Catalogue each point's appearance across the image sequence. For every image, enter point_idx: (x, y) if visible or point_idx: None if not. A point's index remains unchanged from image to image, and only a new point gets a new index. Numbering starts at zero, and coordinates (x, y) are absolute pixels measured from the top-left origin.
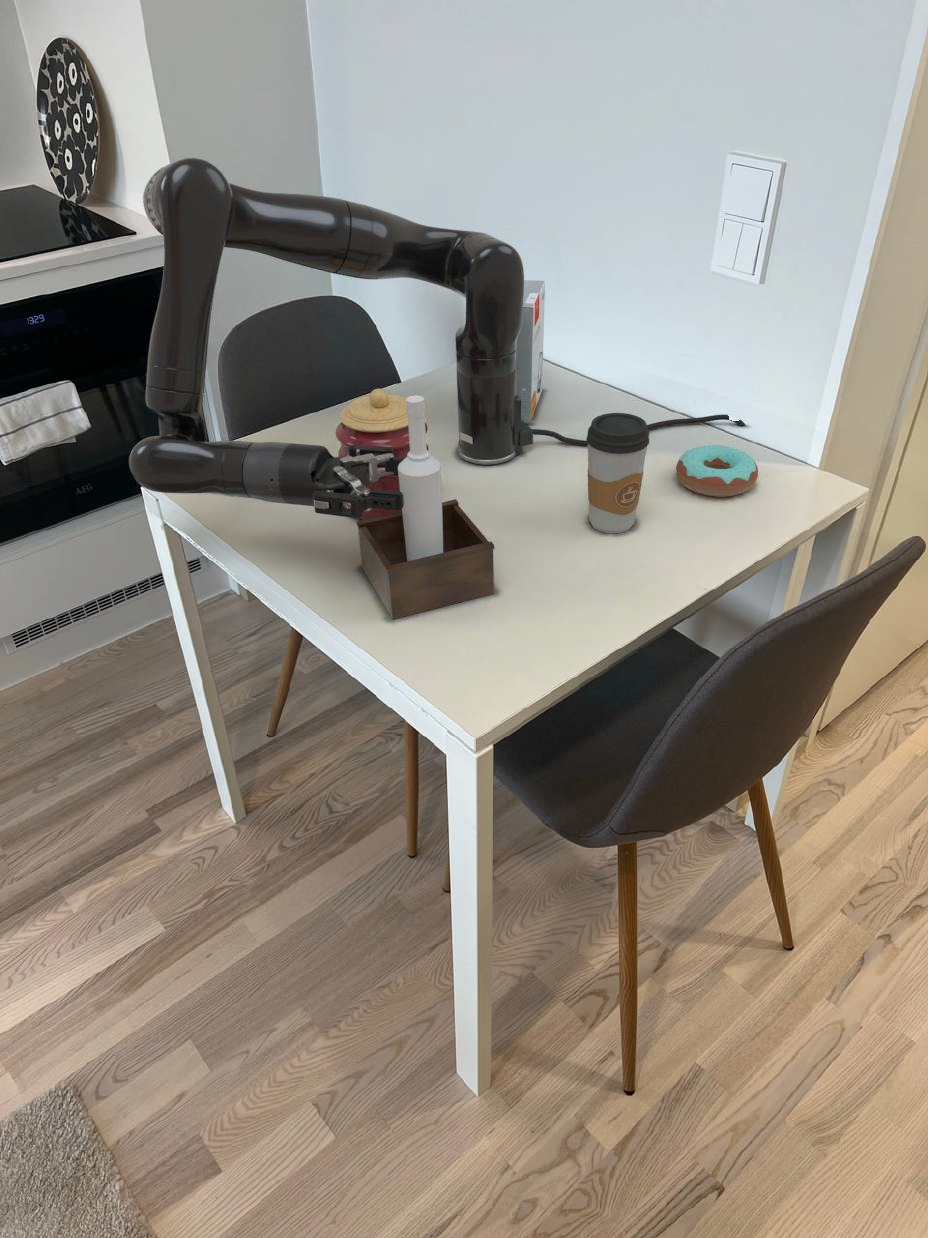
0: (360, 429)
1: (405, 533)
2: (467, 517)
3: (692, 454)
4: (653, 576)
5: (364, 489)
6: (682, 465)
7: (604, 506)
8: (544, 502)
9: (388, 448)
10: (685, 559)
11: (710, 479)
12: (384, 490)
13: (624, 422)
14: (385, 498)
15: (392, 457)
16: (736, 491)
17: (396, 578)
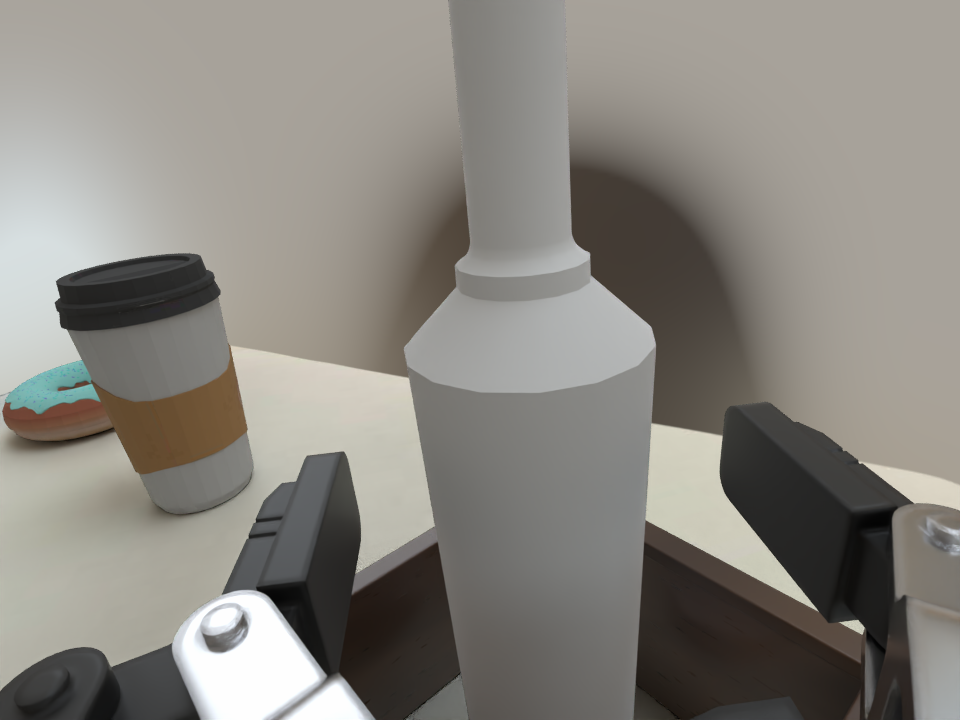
0: None
1: (619, 696)
2: (372, 566)
3: (44, 394)
4: (398, 417)
5: (954, 529)
6: (70, 405)
7: (236, 429)
8: (45, 618)
9: (64, 676)
10: (343, 402)
11: None
12: (797, 457)
13: (118, 272)
14: (843, 453)
15: (259, 599)
16: None
17: None
